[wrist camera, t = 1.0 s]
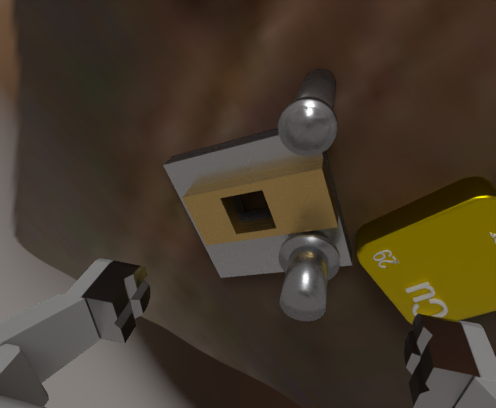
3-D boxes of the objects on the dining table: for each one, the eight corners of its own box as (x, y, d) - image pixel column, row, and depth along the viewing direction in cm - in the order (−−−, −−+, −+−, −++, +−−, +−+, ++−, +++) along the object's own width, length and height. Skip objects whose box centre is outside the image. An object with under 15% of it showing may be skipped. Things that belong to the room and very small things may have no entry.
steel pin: (335, 58, 31) (329, 92, 21) (344, 99, 33) (342, 148, 23) (293, 71, 33) (270, 109, 23) (304, 111, 34) (287, 161, 25)
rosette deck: (316, 117, 35) (304, 170, 25) (351, 252, 42) (353, 332, 33) (171, 156, 41) (117, 209, 32) (225, 266, 49) (195, 335, 40)
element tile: (541, 266, 38) (564, 299, 34) (411, 306, 45) (417, 336, 42) (481, 167, 34) (499, 190, 30) (349, 229, 41) (349, 255, 37)
